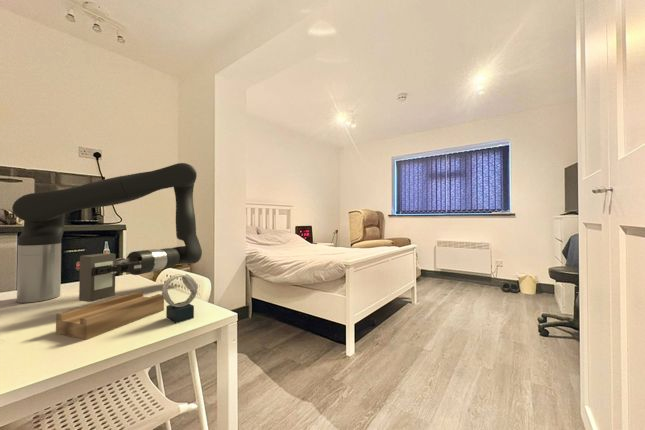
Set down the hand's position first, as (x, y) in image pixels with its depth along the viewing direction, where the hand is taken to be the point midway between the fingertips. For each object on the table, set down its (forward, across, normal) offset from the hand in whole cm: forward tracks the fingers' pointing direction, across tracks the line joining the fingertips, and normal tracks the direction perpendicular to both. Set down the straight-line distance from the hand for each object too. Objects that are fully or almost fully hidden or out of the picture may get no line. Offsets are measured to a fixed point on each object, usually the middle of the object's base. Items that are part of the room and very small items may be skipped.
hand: (86, 271), depth 68 cm
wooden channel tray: (+1, +13, +11) cm, 17 cm away
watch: (-5, +27, +11) cm, 30 cm away
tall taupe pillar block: (-3, 0, +8) cm, 8 cm away
